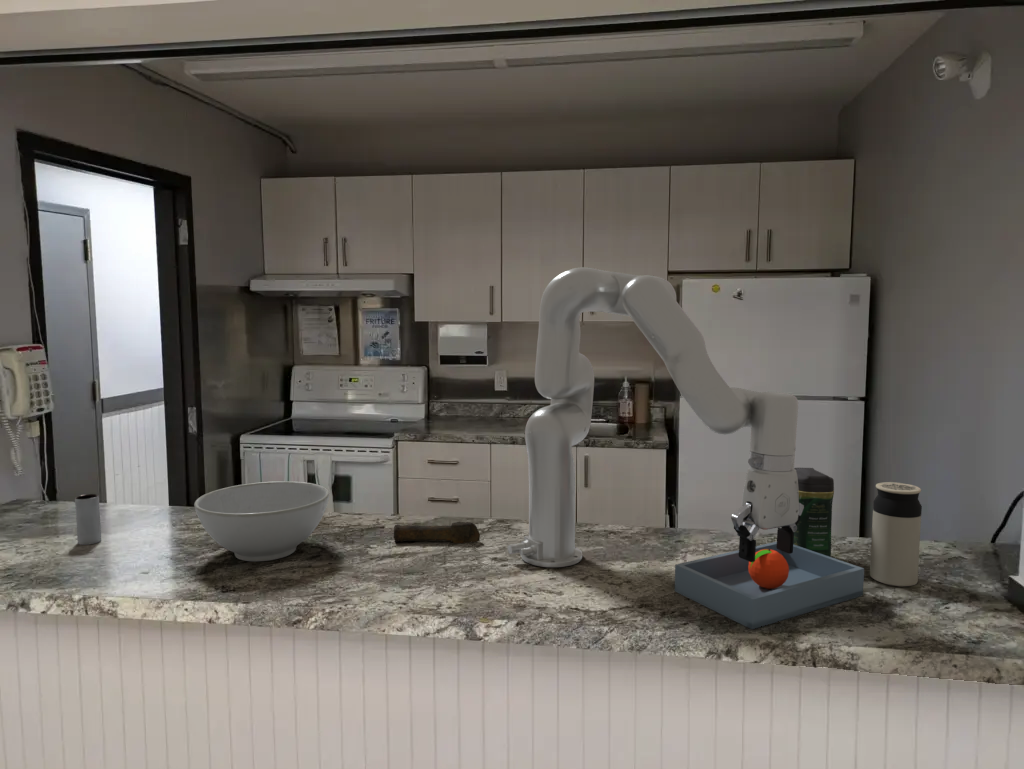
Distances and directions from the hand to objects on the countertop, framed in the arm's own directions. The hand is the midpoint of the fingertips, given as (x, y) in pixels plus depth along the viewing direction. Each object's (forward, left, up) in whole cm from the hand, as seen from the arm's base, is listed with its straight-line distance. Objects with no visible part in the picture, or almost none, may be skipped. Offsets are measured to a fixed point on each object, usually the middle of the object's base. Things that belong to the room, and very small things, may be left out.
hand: (765, 555), depth 127 cm
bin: (0, -1, -7) cm, 7 cm away
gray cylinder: (-108, +93, -7) cm, 143 cm away
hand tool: (-40, +56, -7) cm, 70 cm away
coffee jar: (+22, +8, -7) cm, 25 cm away
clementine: (0, 0, -6) cm, 6 cm away
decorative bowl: (-75, +67, -7) cm, 101 cm away
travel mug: (+26, -8, -7) cm, 28 cm away
